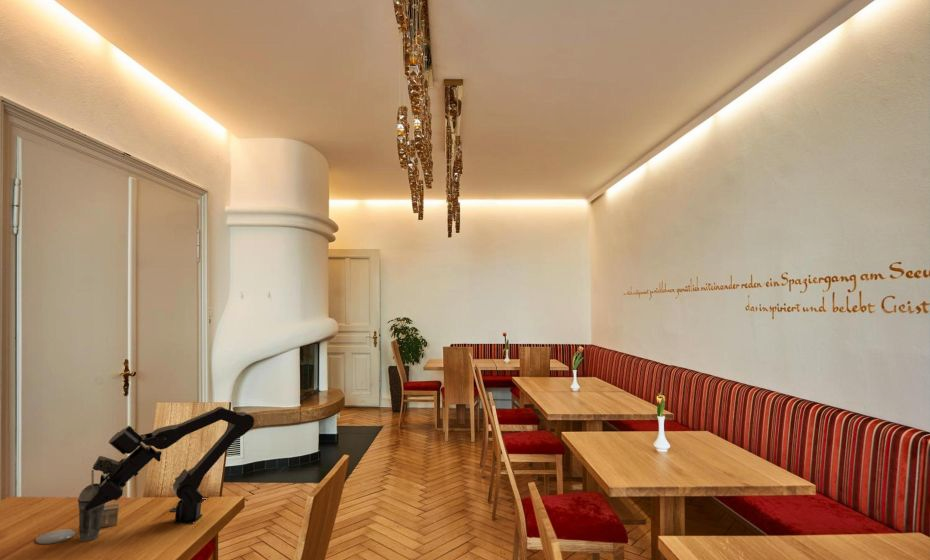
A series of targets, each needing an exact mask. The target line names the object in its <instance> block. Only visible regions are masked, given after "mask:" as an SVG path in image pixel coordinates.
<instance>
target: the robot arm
mask: <svg viewBox="0 0 930 560" xmlns="http://www.w3.org/2000/svg"><path fill="white" fill-rule="evenodd" d="M219 421H223V422H224V421H225V422H226V423H228V425H227V427H226V429H225V431H224V432H223V434H222V435H221V436H220V437H219V439H217V441H216V442H215V443H214V444H213V445H212V446H211V447H210V448H209V449H208V450H207V452H206V453H205V454H203V456H202V458H201V459H199V461H198V462H197V463H196V464H195V465H194V466H193V467H191V468H190V469H188V470H187V469H186V468H184V469H183V470H182V471H181V472H180V474H179V475H178V476H177V477H175V478H174V480H175V481H174V482H173V484H172V491H173V492H174V494H175V495H176V497H177V498H178V499H179V501H178V502H177V505H178V506H177V505H175V507H176V512H175V517H174V521H173V523H174V524H194V523H193V522H195V521H196V520H197V519H198V520H199V518H200V517H201V516H202V517H203V514H201V511H202V510H201V509H202V504H201V501H202V498H203V496H204V495H202V493H201V492H200V490H199V487H200V486H201V484H202V482H203V480H204V477H205V476H206V474H207V473H208V472H209V471H210V470H211V469H212V468H213V466H214V465H215V464H216V463H218V462H217V461H218V460H219V459H220V458H221V457H222V456H223V455H224V454H225V453H226V452H227V450H228V449H229V448H230V446H232V444H233V443H234V442H235V441H237V440H238V439H239V438H241V437H243V436H244V435H245V434H247V433H248V432H249V431H251V429H252V428H253V427H254V425H255V418H254V417H253V416H252V415H251V414H250V413H249V414H248V413H247V412H245V411H239V412H236V411H233V410H230V409H228V408H225V407H223V406H217V407H216V408H214V409H211V410H209V411H207V412H204V413H202V414H200V415H197V416H196V417H193V418H190V419H188V420H185V421H183V422H181V423H178V424H172V425H166V426H163V427H160V428H156V429H155V430H153V431H152V432H148V433H144V434H139V433H138V432H137V431H135V430H134V429H133V427H132V426H131V425H127V426H126V427H124V428H123V429H122V430H120V431H118V432H116V433H115V434H114V435H113V436H112V437H111V438H110V439H109V440H108V444H109V445H111V446H112V447H113V448H114V449H116V450H117V451H118V452H119V453H121V454H122V455H126V454H128V456H126V458H121V459H120V460H118V461H117V460H116V459H113V458H109V457H106V456H103V455H99V456H98V457H97V459H96V461H95V462H94V464H93V465H92V466H93V467H92V470H94V471H97V472H98V471H100V472H102V474H100V480H99V483H98V484H99V489H98V493H97V494H96V495H95V496H94V497H93V499H92V500H91V501H90V502H89V503H88V504H87V506H86V507H85V508H84V509H85V510H86V511H88V510H90V509H92V508H95V507H97V506H99V505H102V504H104V503H105V504H108V502H109V503H110V502H112V501H118V500H119V499H120V498H121V497H122V496H123V494H124V493H123V492H124V487H126V485H127V483H128V482H129V481H130V480H131V479H132V478H133V477H136V476H137V475H139V472H140V471H142V469H143V468H144V467H146V466H147V464H149V463H150V462H151V461H152V460H153V459H154V460H156V461H157V462H158V463H159V462H161V459H162V458H161V457H162V451H161V450H166V449H168V448H169V447H172V445H174V444H176V443H177V442H179V441H180V440H181V439H182V438H184V437H185V436H187V435H190V434H192V433H194V432H196V431H199V430H201V429H203V428H206V427H209V426H210V425H212V424H213V425H214V423H217V422H219ZM154 448H155V449H157V450H155V449H154ZM100 484H101V485H100ZM202 517H201V518H202ZM201 518H200V519H201ZM198 520H197V521H198ZM197 521H196V522H197ZM196 522H195V523H196Z"/></svg>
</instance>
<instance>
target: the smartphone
mask: <svg viewBox="0 0 930 560" xmlns="http://www.w3.org/2000/svg"><path fill="white" fill-rule="evenodd" d="M202 496H203V498H209V499H210V496H206V495H205V496H204V495H202ZM204 500H206V499H202V501H201V503H202V502H203V501H204ZM206 501H207V500H206ZM203 503H204V502H203ZM203 503H202V504H203ZM176 506H178V504H176ZM176 506H174V507H173V508H171V509H170V510H169V513H176Z"/></svg>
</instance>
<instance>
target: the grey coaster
mask: <svg viewBox="0 0 930 560" xmlns="http://www.w3.org/2000/svg"><path fill="white" fill-rule="evenodd" d="M75 535H76V531H75V530H74V529H70V528H69V529H66V528H65V529H64V528H63V529H57V530H56V529H55V530H52V531H48V532H45V533H42V534H40V535H38V536H37V537H36V538H35V543H36V544H37V545H53V544H52V543H54V544H59V543H62V542H66V541H69V540H70V539H72V538H73V537H74V536H75Z"/></svg>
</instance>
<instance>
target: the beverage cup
mask: <svg viewBox="0 0 930 560" xmlns="http://www.w3.org/2000/svg"><path fill="white" fill-rule="evenodd" d="M94 471H95V470H94V469H92V470H91V474H90V475H91V482H90V483H91V484H89V485H87V486H85V488H83V489H82V491H81V492H80V493H79V496H78V498H77V503H78V504H77V505H78V508H79V511H78V512H79V514H78V515H79V516H78V520H79V521H78V522H79V523H78V528H79V530H78V535H79V539H80V540H79V541H80V542H89V541H93V539H94V540H96V539H98V537H99V533H100V532H101V531H100V530H101V528H100V526H101V521H102V516H103V511H104V506H105V504H106V503H104V504H102V505H99V506H97V507H95V508H92V509H90V510H88V511H86V510H85V509H84V508H85V507H86V506H87V504H88V503H89V502H90V501H91V500H92V499H93V497H94V496H95V495H96V494H97V493H98V489H99V483H94V482H95V481H94V477H95V475H94ZM100 485H101V484H100Z"/></svg>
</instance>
